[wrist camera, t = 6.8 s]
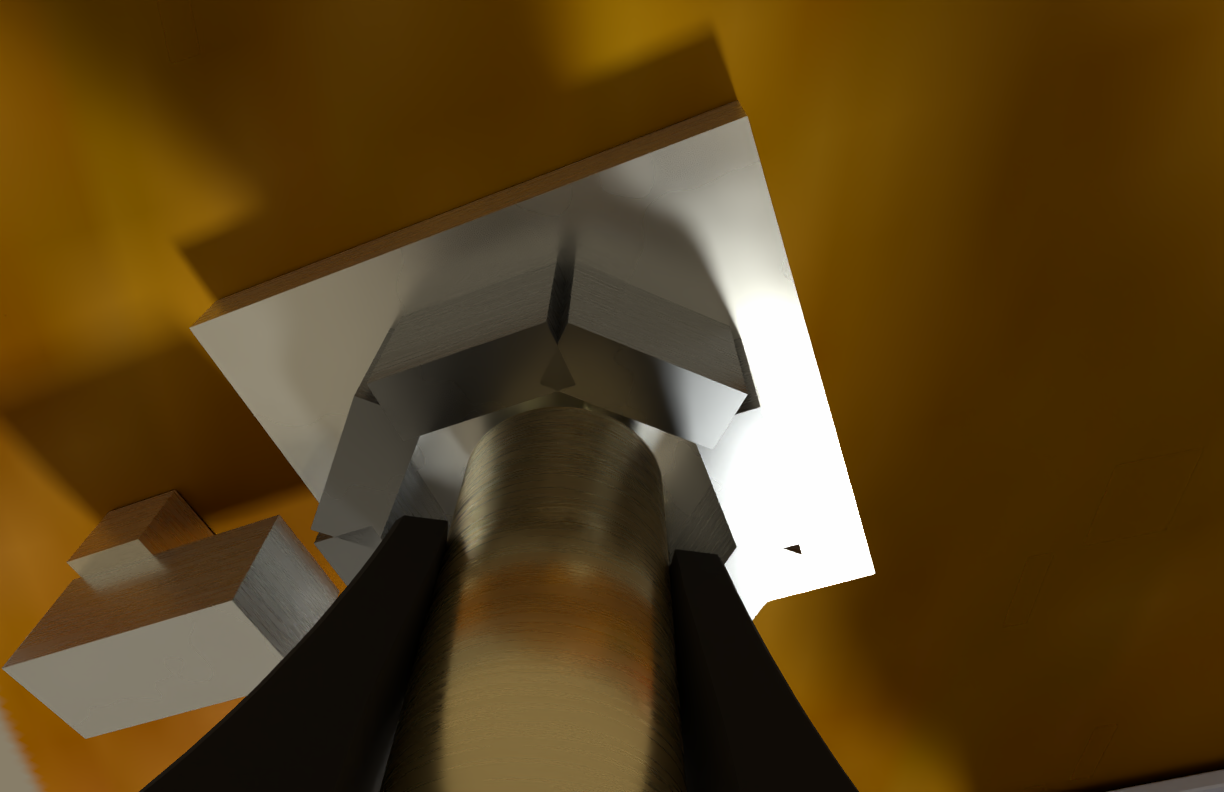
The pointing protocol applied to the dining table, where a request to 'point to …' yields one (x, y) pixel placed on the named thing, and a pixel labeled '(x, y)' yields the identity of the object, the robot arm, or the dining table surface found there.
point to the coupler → (548, 622)
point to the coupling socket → (479, 413)
